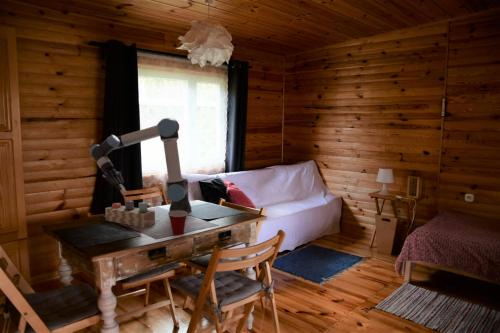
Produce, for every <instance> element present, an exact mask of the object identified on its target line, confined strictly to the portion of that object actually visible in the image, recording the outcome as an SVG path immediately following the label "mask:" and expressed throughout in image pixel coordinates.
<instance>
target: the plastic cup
mask: <svg viewBox="0 0 500 333" xmlns="http://www.w3.org/2000/svg"><path fill="white" fill-rule="evenodd" d="M188 213H189V212H185V211H171V212H167V215H168V217H169V220H170V227H171V231H172V234H173V235H174V236H181V235H183V234H184V232H185V225H186V220H187V216H188Z"/></svg>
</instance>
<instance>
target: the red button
mask: <svg viewBox="0 0 500 333" xmlns="http://www.w3.org/2000/svg"><path fill="white" fill-rule="evenodd" d="M121 206H122V203H121V202H115V203H112V206H111V207H112V208H114V209H117V208H121Z"/></svg>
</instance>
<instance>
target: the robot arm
mask: <svg viewBox="0 0 500 333" xmlns="http://www.w3.org/2000/svg"><path fill="white" fill-rule="evenodd" d="M179 131H180V124H179V122H178V120H176V118H172V117H164V118H162V119H161V120H160V121H158V123H156V125H153V126H150V127H146V128H144V129H143V128H142V129H140V130H136V131H133V132H129V133H126V134H123V135H119V136H116V135H114V134H111V135H110V136H108V137H106V139H105V140H104V141H103V142H101V143H100V144H94V145H91V146H90V148H89V153H90V156H91V157H92V158H93V160H94V161H95V163H96V164H97V166H98V167H99V168H100V170H101V171H102V173H103V174H102V178H104V179H105V180H106V181H107V182H108V183H109V184H110V185H111V186H112V187H115V188H117V190H118V191H119V192H120V193H121V194H122V196H123V195H126V194H127V190H126V188H125V186H124V184H125V181H124V178H123V176H122V171H117V170H116V169H115V166H114V164H113V163H112V162H111V160H110V159H109V157H108V154H109V153H111V152H112V151H113V150H117V149H118V150H119V149H121V148H124V147H128V146H130V145H134V144H138V143H141V142H144V141H148V140H151V139H155V138H157V137H160V142H162V143H163V149H164V150H163V151H164V155H165V156H164V157H165V163H166V164H165V165H166V171H167V180H166V193H165V194H166V197H167V198H168V199H169V200H170V206H169V208H168V209H169V212H171V211H185V212H187V213H190V212H192V206H191V203H190V200H189V198H190V197H189V180H188V178H184V177H183V176H182V172H181V171H182V170H181V164H180V156H179V148H178V140H179ZM169 212H168V213H169Z"/></svg>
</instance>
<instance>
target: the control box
mask: <svg viewBox="0 0 500 333" xmlns="http://www.w3.org/2000/svg"><path fill="white" fill-rule="evenodd" d="M105 221H108V222H112V223H118V224H123V225H127V224H128V225H127V226H132V225H133V227H139V228H146V227H149V226H152V225H155V224H156V211H155V210H151V209H148V211H147V212H139V207H134V209H133V210H125V205H121V208H117V209H114V208H112V206H108V207H105Z"/></svg>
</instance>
